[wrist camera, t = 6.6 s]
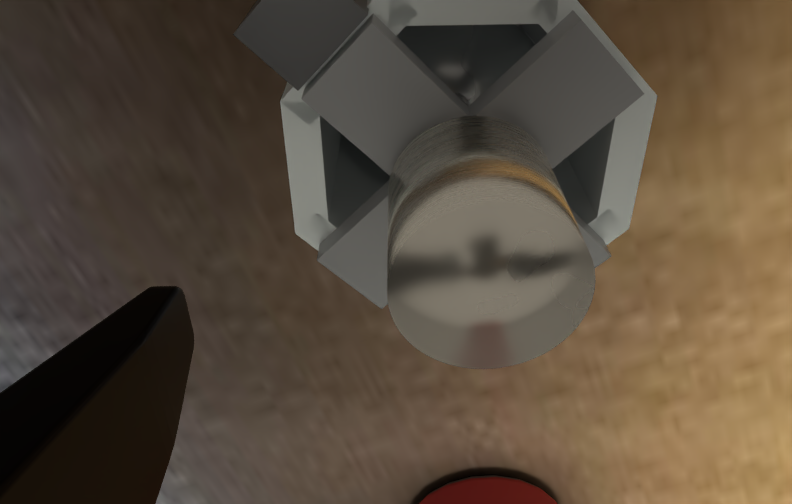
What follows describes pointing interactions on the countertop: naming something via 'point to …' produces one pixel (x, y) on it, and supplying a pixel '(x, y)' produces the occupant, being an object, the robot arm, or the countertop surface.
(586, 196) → the grey faceted drum
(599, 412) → the countertop surface
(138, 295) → the robot arm
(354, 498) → the countertop surface
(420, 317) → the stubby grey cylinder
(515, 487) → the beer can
